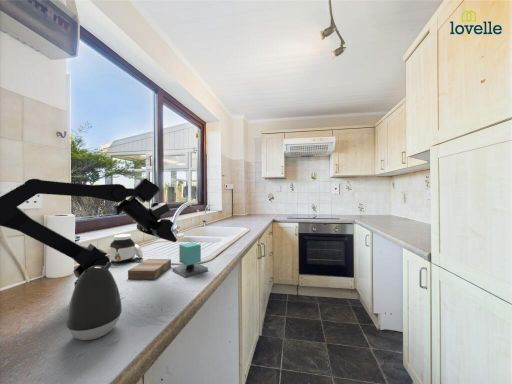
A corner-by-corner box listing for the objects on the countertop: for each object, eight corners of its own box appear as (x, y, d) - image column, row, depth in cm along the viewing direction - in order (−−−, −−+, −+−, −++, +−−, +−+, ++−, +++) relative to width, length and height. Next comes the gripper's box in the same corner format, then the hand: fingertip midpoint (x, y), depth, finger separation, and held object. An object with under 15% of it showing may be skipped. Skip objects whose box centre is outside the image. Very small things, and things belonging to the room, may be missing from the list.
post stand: (184, 277, 84) (184, 258, 84) (172, 270, 91) (172, 253, 91) (207, 270, 91) (207, 253, 91) (194, 265, 98) (194, 248, 98)
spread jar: (106, 262, 102) (106, 236, 102) (127, 255, 113) (127, 232, 113) (127, 265, 99) (127, 238, 99) (147, 257, 110) (147, 233, 110)
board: (154, 279, 83) (154, 270, 83) (128, 278, 83) (127, 270, 83) (170, 266, 97) (170, 259, 97) (148, 265, 97) (147, 258, 97)
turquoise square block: (187, 265, 87) (187, 247, 87) (179, 262, 91) (179, 244, 91) (200, 262, 91) (200, 244, 91) (192, 258, 96) (192, 242, 96)
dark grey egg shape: (130, 319, 57) (130, 258, 57) (104, 347, 47) (104, 273, 47) (89, 319, 57) (88, 259, 57) (53, 348, 46) (52, 274, 46)
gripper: (166, 195, 75) (196, 224, 83) (144, 195, 88) (172, 220, 96) (142, 222, 70) (176, 250, 78) (122, 217, 82) (154, 242, 91)
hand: (170, 239), depth 86 cm, fingers open, 9 cm apart
